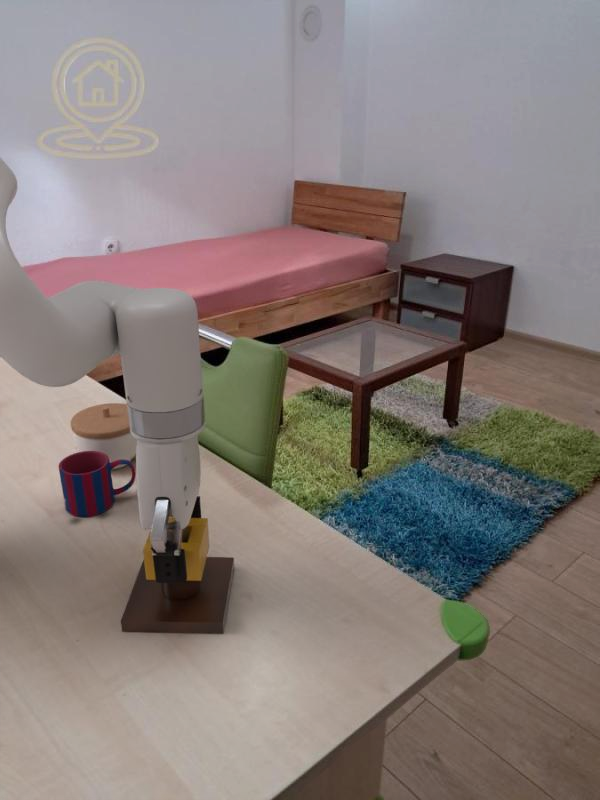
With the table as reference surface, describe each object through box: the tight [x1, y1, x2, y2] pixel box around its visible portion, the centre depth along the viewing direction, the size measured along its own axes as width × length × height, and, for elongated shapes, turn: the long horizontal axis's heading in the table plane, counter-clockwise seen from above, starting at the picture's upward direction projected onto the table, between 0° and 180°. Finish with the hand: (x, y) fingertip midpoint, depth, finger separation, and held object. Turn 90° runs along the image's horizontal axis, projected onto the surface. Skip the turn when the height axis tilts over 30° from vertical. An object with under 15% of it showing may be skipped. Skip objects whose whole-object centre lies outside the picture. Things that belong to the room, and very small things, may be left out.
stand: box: [120, 521, 235, 634], centre depth 71 cm, size 11×11×10 cm
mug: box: [58, 451, 137, 518], centre depth 89 cm, size 7×10×7 cm
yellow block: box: [142, 517, 210, 581], centre depth 70 cm, size 6×6×4 cm
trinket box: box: [70, 402, 137, 471], centre depth 100 cm, size 11×11×9 cm
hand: (180, 551), depth 71 cm, fingers open, 9 cm apart
